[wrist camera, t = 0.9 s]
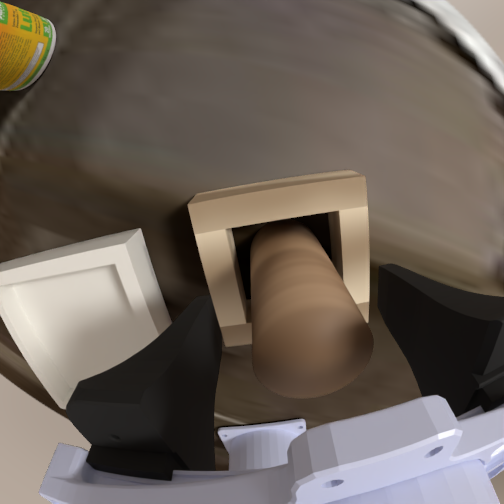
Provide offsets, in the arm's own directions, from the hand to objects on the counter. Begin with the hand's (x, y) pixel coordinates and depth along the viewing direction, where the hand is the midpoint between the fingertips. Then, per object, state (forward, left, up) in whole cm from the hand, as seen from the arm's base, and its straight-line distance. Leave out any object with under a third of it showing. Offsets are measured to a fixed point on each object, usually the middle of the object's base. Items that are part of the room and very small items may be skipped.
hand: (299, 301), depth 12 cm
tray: (-4, +15, -6) cm, 16 cm away
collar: (0, 0, -6) cm, 6 cm away
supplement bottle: (+17, +14, -6) cm, 23 cm away
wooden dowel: (0, 0, -6) cm, 6 cm away
